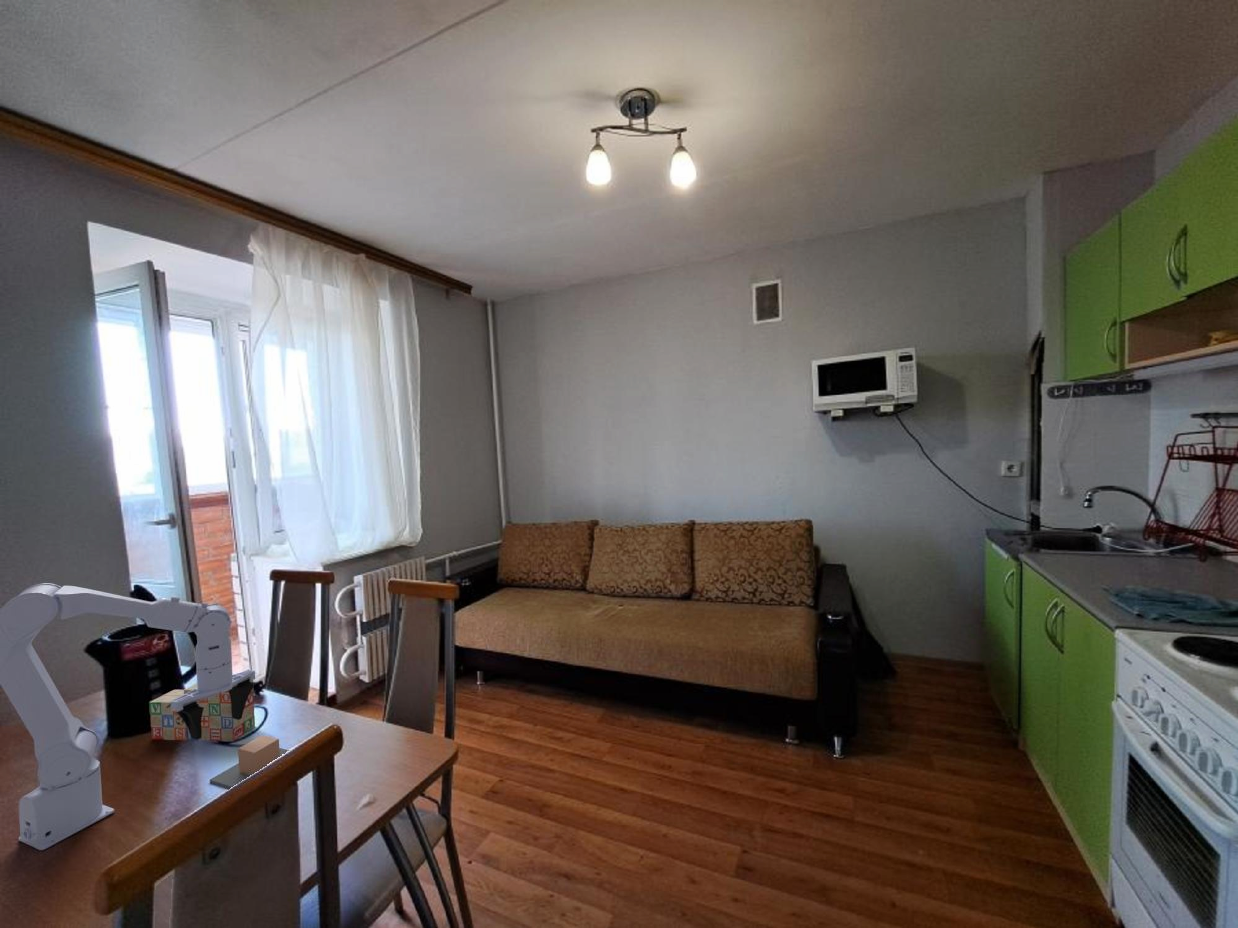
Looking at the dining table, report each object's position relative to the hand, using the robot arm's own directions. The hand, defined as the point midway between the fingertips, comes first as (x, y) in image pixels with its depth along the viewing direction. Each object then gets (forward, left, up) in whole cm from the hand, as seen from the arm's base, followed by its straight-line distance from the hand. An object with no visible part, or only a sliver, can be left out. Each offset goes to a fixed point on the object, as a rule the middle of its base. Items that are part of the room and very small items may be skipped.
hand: (217, 727), depth 102 cm
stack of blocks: (+8, +20, -10) cm, 24 cm away
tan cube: (+3, -8, -9) cm, 12 cm away
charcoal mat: (+3, -8, -9) cm, 13 cm away
